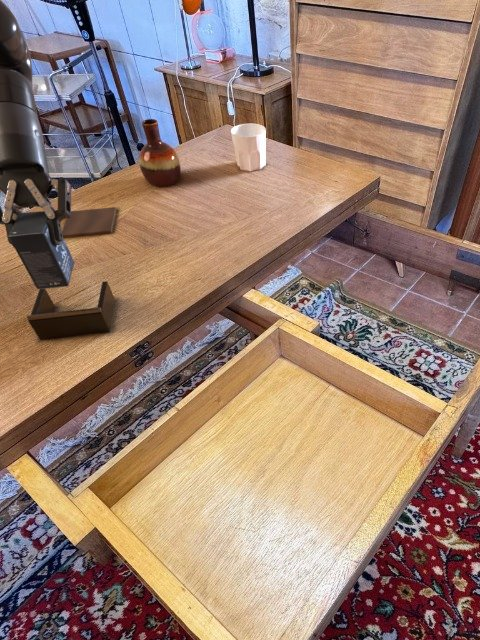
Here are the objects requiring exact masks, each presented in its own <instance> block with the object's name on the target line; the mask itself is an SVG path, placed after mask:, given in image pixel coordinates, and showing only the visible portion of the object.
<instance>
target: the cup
mask: <svg viewBox="0 0 480 640" xmlns="http://www.w3.org/2000/svg"><path fill="white" fill-rule="evenodd" d="M230 136H231V140H232V145H233V149H234V155H235V159H236V165H237V166H238V167H239V168H240V171H248V172H250V173H251V172H253V171H257V170H258V171H259V170H262V168H264V166H267V165H266V164H267V159H266V158H267V153H266V152H267V151H266V149H267V146H266V145H267V143H266V142H267V129H266V127H265V126H264V125H262V124H258V123H240V124H237V125H235V126H233V127H232V128H231V129H230Z"/></svg>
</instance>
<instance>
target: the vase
mask: <svg viewBox="0 0 480 640" xmlns="http://www.w3.org/2000/svg"><path fill="white" fill-rule="evenodd" d="M141 126H142V129H143V132H144V135H145V139H146V144H145V145H144V146H143V147H142V148H141V150H140V152H139V157H138V163H139V165H138V166H139V168H140V171H141V173H142V175H143V177H144V179H145V180H146V182H147V183H148V184H150V185H151V186H152V187H153V186H154V187H156V188H163V187H164V188H167V187H169V186H172V185H175V184H176V183H177V182H178V181H179V179H180V177H181V171H182V170H181V162H180V158H179V155H178V154H177V151H176V150H175V149H174V148H173V147H172V146H171V145H170V144H168V143H166V142H165V141H162V138H161V133H160V129H159V123H158V120H157V119H154V118H148V119H144V120H142V121H141Z"/></svg>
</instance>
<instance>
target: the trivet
mask: <svg viewBox="0 0 480 640" xmlns="http://www.w3.org/2000/svg"><path fill="white" fill-rule="evenodd" d="M116 214H117V207H115V206H114V207H113V206H112V207H104V208H103V207H102V208H92V209H83V210H82V209H81V210H80V209H79V210H71V217H70V218H69V219H67V218H66V219H65V222H64V225H63V228H62V235H63V238H64V239H67V238H69V239H70V238H77V237H88V236H89V237H90V236H98V235H99V236H101V235H108V234H112V233H113V229H114V225H115V220H116Z"/></svg>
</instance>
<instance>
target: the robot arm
mask: <svg viewBox="0 0 480 640" xmlns="http://www.w3.org/2000/svg"><path fill="white" fill-rule="evenodd" d="M47 159H48V158H47V153H46V147H45V141H44V134H43V131H42V126H41V123H40V120H39V116H38V110H37V104H36V99H35V94H34V89H33V64H32V58H31V52H30V49H29V45H28V43H27V40H26V38H25V36H24V34H23V31H22V29H21V27H20V23H19V22H18V19H17V18H16V15H15V14H14V13H13V12H12V11H11V9H10V8H9V7H8V6H7V5H6V4H5V3H4V2H3V0H0V193H1V192H2V193H3V194H4V195H5V199H4V203H3V208H4V209H2V206H1V205H0V225H3V226H4V227H5V232H6V238H7V242H8V243H9V245H11V246H12V247H13V248H14V246H13V244H12V242H11V241H10V239H9V237H8V236H9V233H10V232H11V230H12V228H13V225H14V223H15V221H16V218H17V217H18V216H19V215H20V214H21V213H24V209H28V208H31V207H35V208H41V209H42V210H43V211H44V212H45V213H46V215H47V216H48V218H49V220H47V222H48V227H49V233H50V238H51V242H52V243H53V244H54V245H61V241H63V235H62V231H63V228H62V225H61V224H62V222H63V221H64V220H66V219H69V218H70V217H71V211H72V184H70V183H69V181H68V180H66V179H65V178H64V177H62V176H60V177H58V178H52V177H51V176H50V171H49V169H50V168H49V164H48V160H47ZM53 188H54V191H55V192H56V193H57V209H56V208H55V206H54V204H53V203H52V201H51V200H50V198H49V196H50V195H51V192H52V191H53Z"/></svg>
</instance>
